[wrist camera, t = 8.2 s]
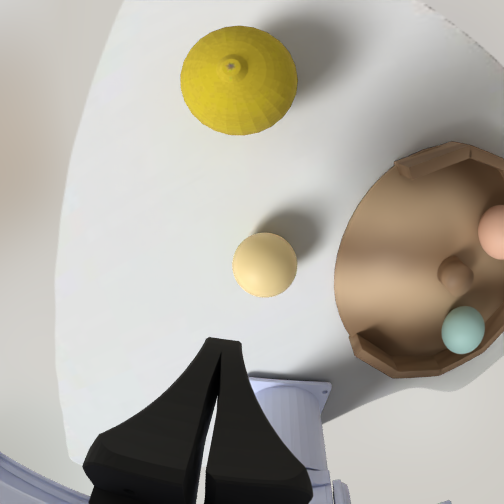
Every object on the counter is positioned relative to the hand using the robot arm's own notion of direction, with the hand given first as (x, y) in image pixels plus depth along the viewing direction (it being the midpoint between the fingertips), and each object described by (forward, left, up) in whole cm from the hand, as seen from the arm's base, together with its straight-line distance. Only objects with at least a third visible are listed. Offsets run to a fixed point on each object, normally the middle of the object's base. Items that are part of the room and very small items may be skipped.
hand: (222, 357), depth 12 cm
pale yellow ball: (+1, -1, -10) cm, 10 cm away
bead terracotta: (+5, -19, -10) cm, 22 cm away
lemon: (+11, +1, -10) cm, 15 cm away
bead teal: (-3, -19, -10) cm, 21 cm away
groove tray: (+1, -16, -10) cm, 19 cm away
